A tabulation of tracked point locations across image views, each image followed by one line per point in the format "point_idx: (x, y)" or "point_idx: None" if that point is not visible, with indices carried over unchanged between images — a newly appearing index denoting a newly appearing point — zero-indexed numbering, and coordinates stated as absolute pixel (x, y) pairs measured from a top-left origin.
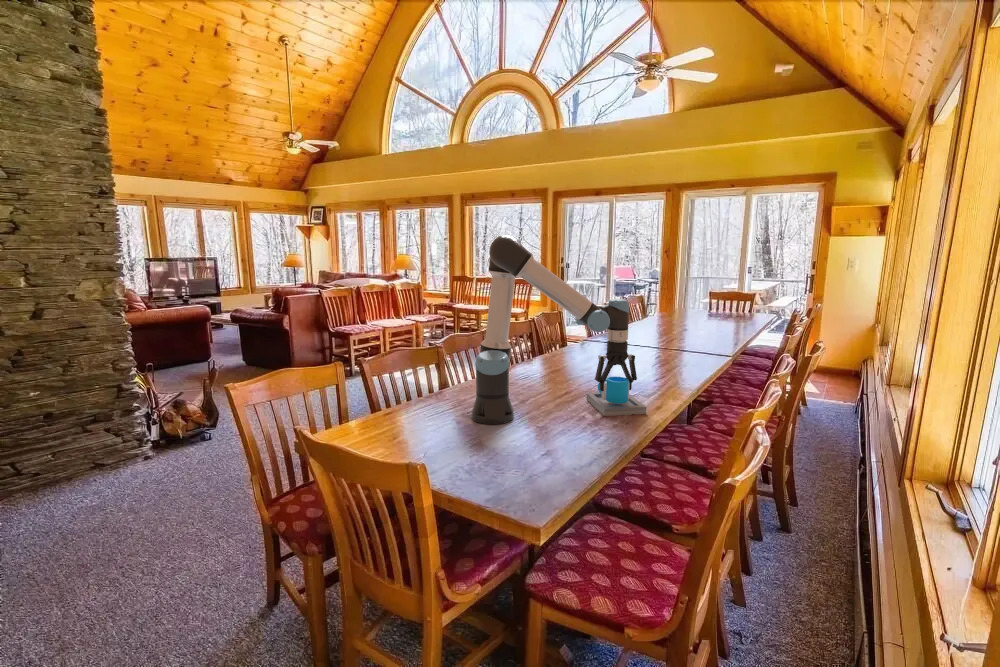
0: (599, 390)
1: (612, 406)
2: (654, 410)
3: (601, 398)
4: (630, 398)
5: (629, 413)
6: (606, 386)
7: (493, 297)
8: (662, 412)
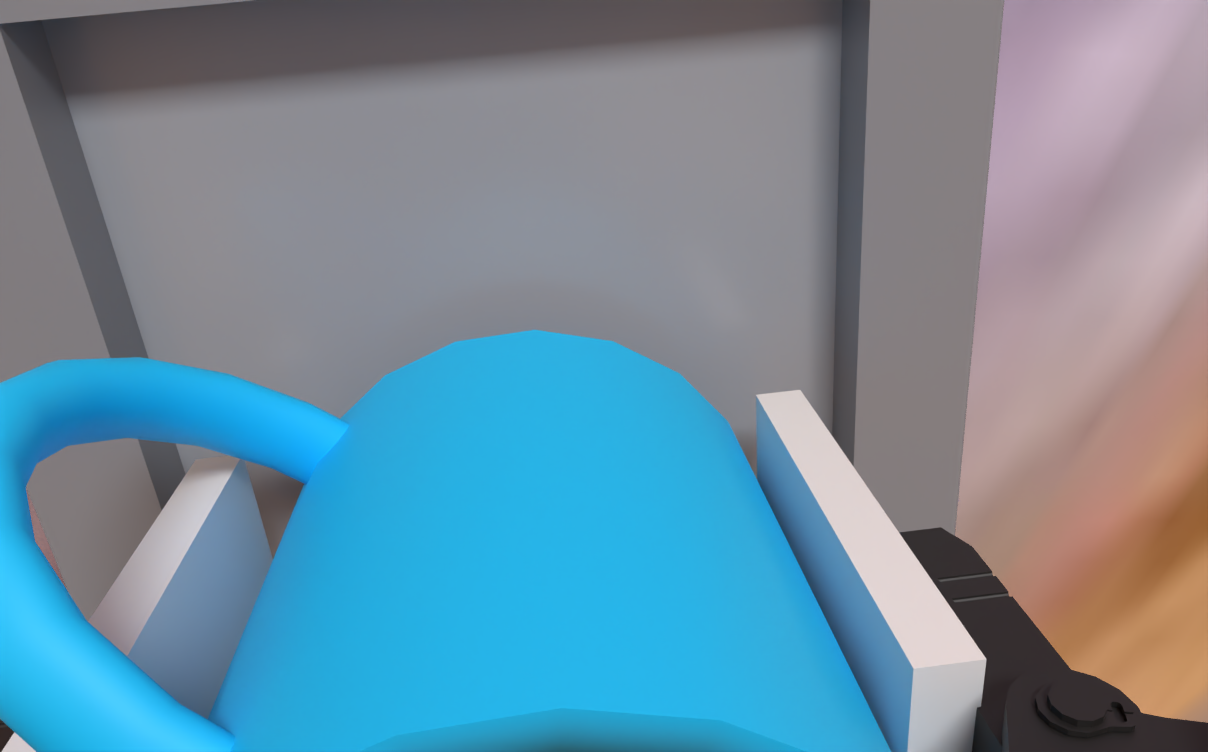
0: (71, 444)
1: None
2: (1083, 606)
3: (259, 151)
4: (871, 421)
5: None
6: (211, 715)
7: None
8: (1142, 679)
